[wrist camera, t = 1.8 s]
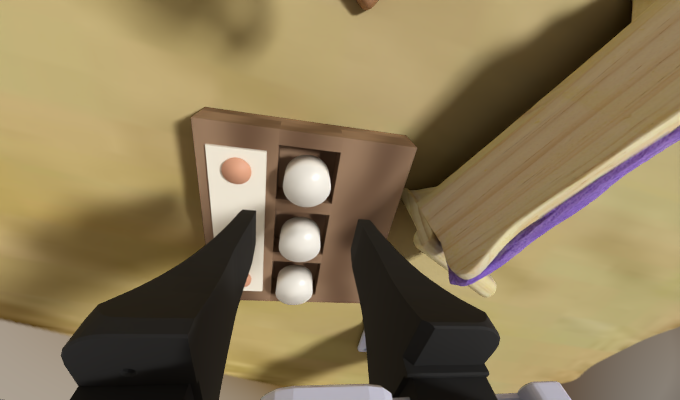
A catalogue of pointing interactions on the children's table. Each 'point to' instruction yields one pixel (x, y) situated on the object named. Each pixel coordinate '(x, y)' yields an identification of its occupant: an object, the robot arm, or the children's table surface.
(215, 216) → the pattern strip
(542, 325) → the children's table surface
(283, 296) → the button inner
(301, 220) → the button middle
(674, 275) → the children's table surface
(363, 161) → the button board
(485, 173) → the toy sofa
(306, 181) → the button outer
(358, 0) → the brown tall carved piece
